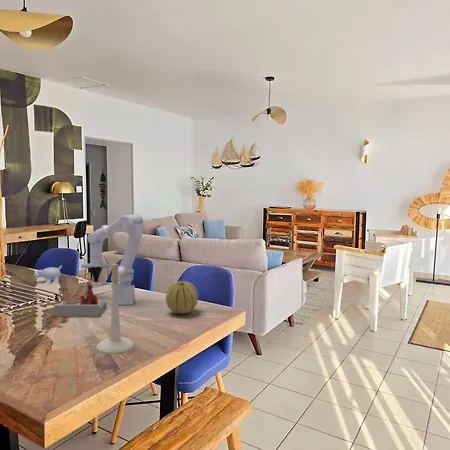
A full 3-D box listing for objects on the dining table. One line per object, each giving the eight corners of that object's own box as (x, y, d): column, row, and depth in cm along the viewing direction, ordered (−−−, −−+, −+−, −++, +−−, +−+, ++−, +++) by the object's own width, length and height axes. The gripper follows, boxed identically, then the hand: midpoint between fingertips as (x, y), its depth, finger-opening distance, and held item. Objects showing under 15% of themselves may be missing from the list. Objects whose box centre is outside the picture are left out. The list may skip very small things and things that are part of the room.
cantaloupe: (191, 307, 196) (191, 276, 194) (203, 315, 182) (203, 282, 181) (161, 310, 189) (161, 278, 188) (171, 319, 176) (171, 285, 175)
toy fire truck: (82, 309, 189) (82, 287, 188) (80, 302, 200) (79, 281, 199) (98, 307, 192) (98, 286, 191) (95, 301, 203) (94, 280, 202)
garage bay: (106, 308, 191) (106, 297, 191) (98, 317, 178) (98, 305, 177) (65, 307, 190) (65, 297, 190) (54, 316, 177) (54, 305, 176)
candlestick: (98, 356, 137) (97, 267, 134) (94, 342, 148) (93, 260, 146) (137, 350, 142) (137, 265, 139) (130, 338, 153) (130, 259, 151)
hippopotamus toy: (34, 281, 243) (34, 265, 242) (61, 279, 249) (61, 263, 248) (34, 285, 233) (34, 268, 232) (62, 283, 239) (62, 267, 239)
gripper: (112, 254, 211) (112, 280, 212) (83, 254, 210) (84, 280, 212) (109, 256, 204) (109, 283, 205) (79, 256, 203) (79, 283, 205)
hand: (96, 282), depth 208 cm, fingers closed
